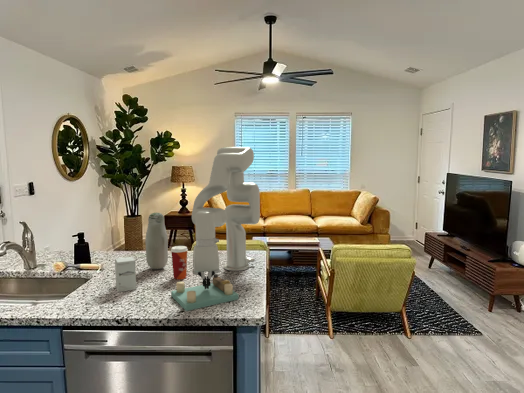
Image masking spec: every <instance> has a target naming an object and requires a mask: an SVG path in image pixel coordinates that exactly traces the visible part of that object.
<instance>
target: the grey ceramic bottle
mask: <svg viewBox="0 0 524 393" xmlns="http://www.w3.org/2000/svg"><path fill="white" fill-rule="evenodd" d="M147 220H148V221H147V222H148V224H147V229H146V232H145V233H146V234H145V239H144V240H145V242H144V243H145V258H146V263H147V265H148V267H149V268H150V269H152V270H162V269H164V268H165V267H166V266H167V264H168V259H169V252H168V251H169V249H168V247H169V245H168V244H169V243H168V242H169V241H168V240H169V239H168V238H169V237H168V233H167V229H166V225H165V216H164V214H163V213H161V212H153V213H150V214H149V215H148V218H147Z"/></svg>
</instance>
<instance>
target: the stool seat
mask: <svg viewBox="0 0 524 393" xmlns="http://www.w3.org/2000/svg"><path fill="white" fill-rule="evenodd" d="M224 280H225V281H229V283H228V284H225V285H224V292H223V291H222V290H220V289H219V288H217V287H216V286H214V285H213V282H210V286H209V289H205V287H204V286H203V284H201V285H196V286H192V287H190V286H189V287H185V285H186V283H185V282H184V281H177V282H176V284H175V286H176V289H175V290H171V291H170V294H171V297H172V298H173V299H174V300H175V301H176V302H177V303H178V305H180V307H182V309H183V310H184V311H186V312H189V311H192V310H196V309H200V308H201V309H202V308H205V307H209V306H214V305H220V304H223V303H228V302H232V301H237V300H239V293H237V292H236V291H234V290H233V289H234V287H233V283H231V281H230V280H229V279H224Z"/></svg>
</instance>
